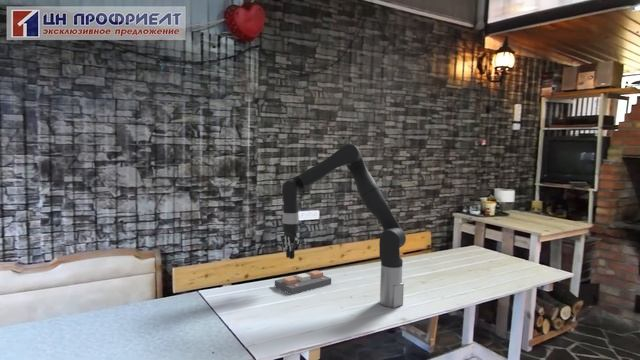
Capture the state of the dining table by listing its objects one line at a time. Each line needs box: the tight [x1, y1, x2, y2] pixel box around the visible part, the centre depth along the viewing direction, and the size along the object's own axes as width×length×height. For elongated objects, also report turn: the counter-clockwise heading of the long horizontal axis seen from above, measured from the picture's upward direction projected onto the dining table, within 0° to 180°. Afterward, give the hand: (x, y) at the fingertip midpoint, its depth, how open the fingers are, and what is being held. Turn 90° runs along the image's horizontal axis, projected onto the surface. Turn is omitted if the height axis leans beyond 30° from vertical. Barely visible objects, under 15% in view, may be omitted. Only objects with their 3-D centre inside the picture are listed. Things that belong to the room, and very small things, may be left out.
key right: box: [308, 269, 324, 279], centre depth 206 cm, size 5×5×3 cm
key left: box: [282, 275, 297, 285], centre depth 196 cm, size 5×5×3 cm
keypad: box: [274, 272, 332, 296], centre depth 201 cm, size 14×24×3 cm, turn 129°
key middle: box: [295, 272, 311, 282], centre depth 201 cm, size 5×5×3 cm
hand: (290, 257), depth 195 cm, fingers closed
